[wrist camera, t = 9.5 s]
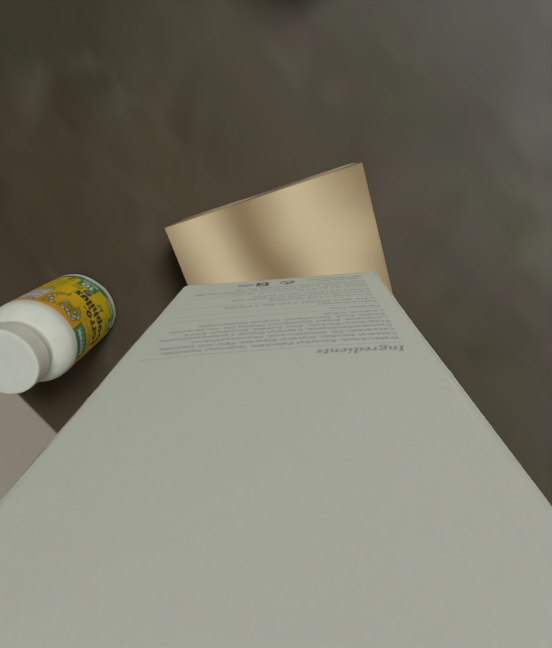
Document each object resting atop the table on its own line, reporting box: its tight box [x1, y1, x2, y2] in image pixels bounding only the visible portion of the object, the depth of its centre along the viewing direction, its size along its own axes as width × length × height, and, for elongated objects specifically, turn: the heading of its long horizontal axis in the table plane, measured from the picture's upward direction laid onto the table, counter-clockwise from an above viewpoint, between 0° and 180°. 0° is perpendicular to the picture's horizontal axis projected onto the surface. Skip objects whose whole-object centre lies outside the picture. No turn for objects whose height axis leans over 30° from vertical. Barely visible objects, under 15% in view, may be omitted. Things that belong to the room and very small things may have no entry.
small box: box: [0, 271, 552, 648], centre depth 9 cm, size 8×6×13 cm
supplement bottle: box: [0, 274, 116, 394], centre depth 28 cm, size 5×5×10 cm
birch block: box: [165, 163, 393, 295], centre depth 29 cm, size 12×12×5 cm
